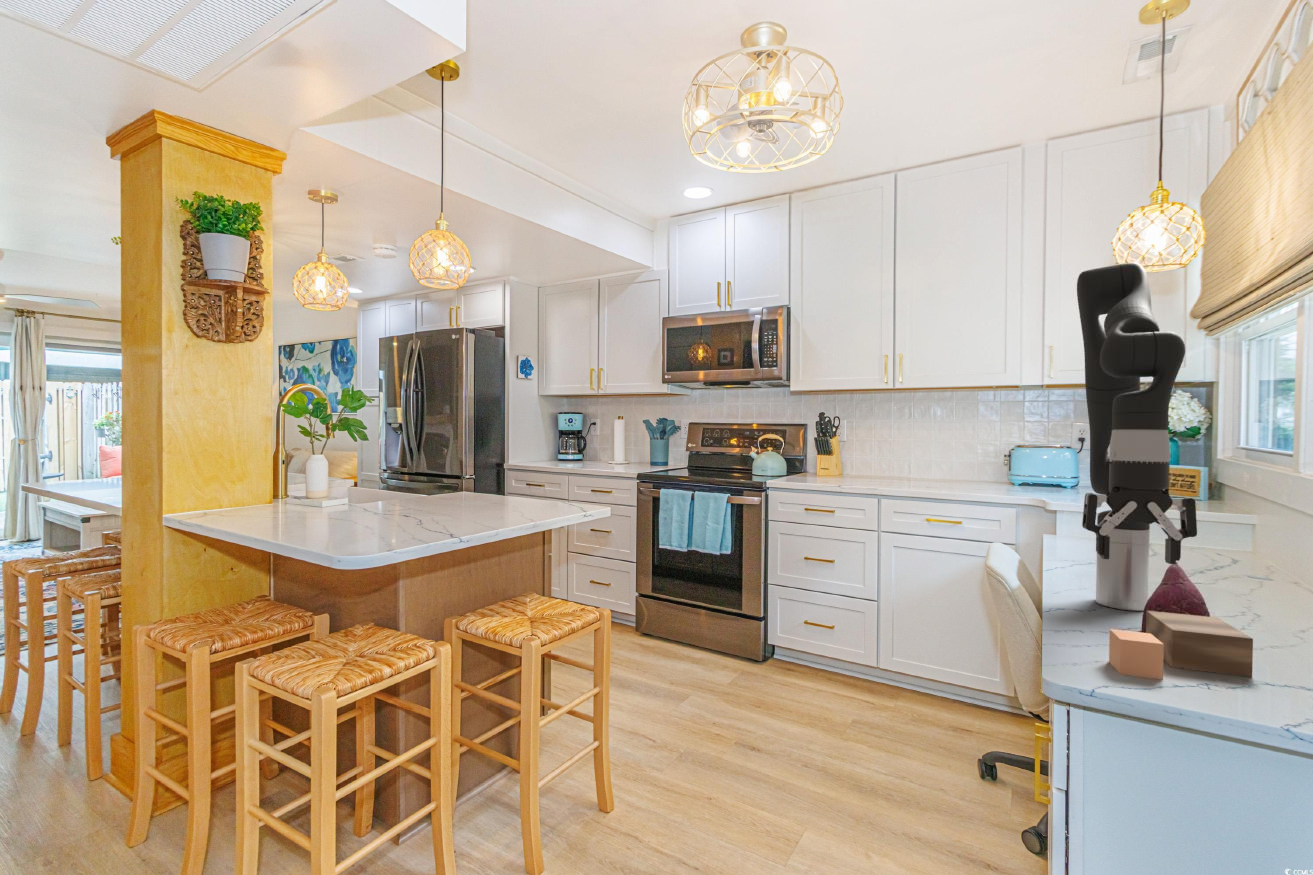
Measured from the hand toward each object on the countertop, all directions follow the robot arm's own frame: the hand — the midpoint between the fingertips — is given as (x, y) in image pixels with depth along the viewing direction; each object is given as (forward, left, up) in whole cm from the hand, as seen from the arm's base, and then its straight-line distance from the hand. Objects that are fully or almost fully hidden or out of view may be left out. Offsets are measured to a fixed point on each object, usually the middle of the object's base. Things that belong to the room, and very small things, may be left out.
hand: (1136, 560), depth 98 cm
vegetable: (-24, +13, -18) cm, 33 cm away
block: (0, 0, -18) cm, 18 cm away
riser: (-10, +11, -17) cm, 23 cm away
